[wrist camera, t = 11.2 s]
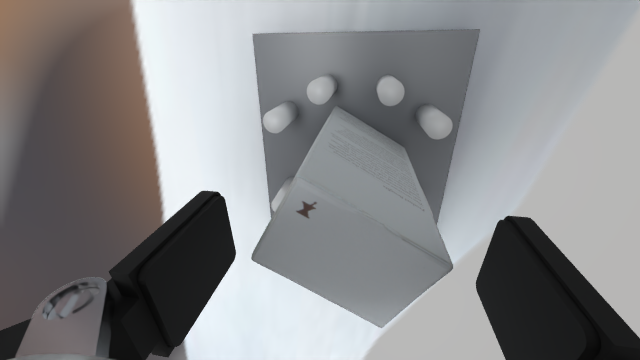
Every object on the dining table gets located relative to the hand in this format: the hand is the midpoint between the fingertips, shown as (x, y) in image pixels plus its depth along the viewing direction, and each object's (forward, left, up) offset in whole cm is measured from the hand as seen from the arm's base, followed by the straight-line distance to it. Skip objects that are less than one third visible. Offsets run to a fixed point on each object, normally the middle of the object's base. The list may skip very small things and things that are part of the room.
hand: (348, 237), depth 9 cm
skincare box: (+1, 0, -12) cm, 12 cm away
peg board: (+1, 0, -13) cm, 13 cm away
